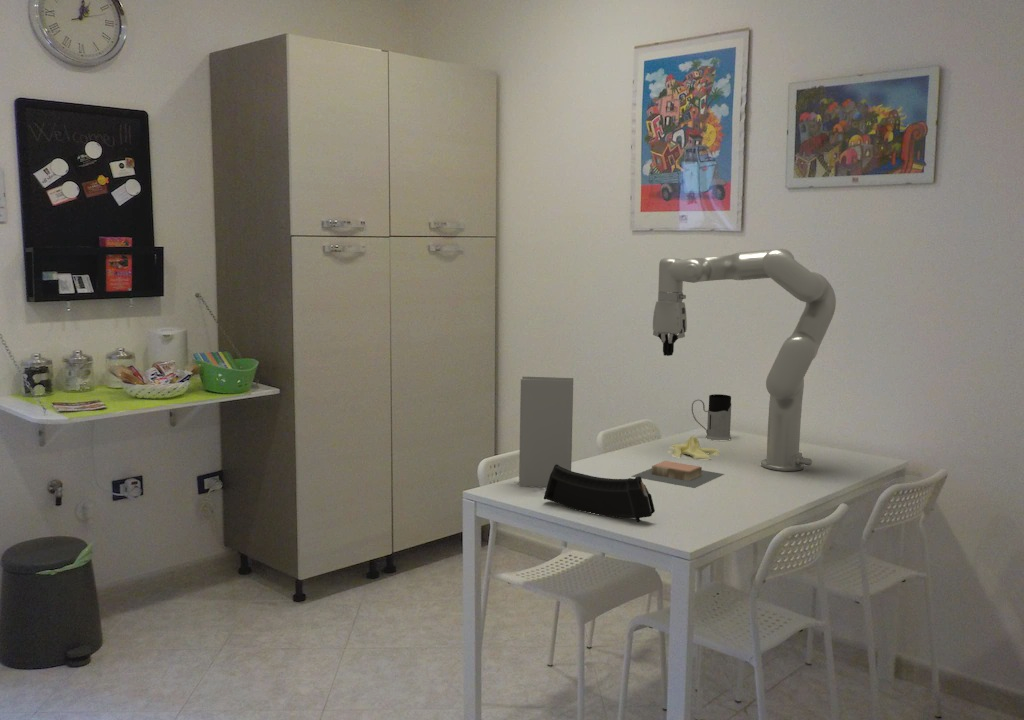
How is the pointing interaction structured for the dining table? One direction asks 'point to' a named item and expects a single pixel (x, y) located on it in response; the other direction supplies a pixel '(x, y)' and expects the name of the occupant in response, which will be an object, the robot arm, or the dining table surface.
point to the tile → (676, 470)
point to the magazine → (600, 494)
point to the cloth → (693, 449)
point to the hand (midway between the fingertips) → (668, 355)
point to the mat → (693, 483)
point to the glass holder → (717, 417)
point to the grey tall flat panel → (544, 428)
